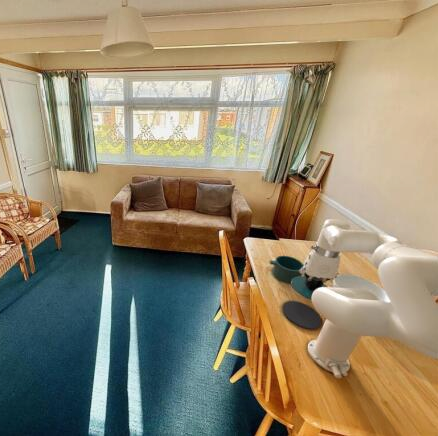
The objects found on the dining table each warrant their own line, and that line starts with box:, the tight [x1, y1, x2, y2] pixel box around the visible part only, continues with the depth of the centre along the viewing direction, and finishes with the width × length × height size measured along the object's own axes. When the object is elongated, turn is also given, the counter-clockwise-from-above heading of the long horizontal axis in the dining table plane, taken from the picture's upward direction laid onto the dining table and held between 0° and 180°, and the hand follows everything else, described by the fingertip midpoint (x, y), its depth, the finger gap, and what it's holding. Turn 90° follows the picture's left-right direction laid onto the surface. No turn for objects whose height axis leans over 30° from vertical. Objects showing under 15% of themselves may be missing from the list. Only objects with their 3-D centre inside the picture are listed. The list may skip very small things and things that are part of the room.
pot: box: [269, 255, 304, 285], centre depth 125 cm, size 14×19×8 cm
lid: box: [290, 275, 329, 301], centre depth 95 cm, size 15×15×6 cm
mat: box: [281, 300, 323, 330], centre depth 102 cm, size 15×15×1 cm
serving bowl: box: [332, 273, 391, 303], centre depth 109 cm, size 21×21×7 cm
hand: (312, 286), depth 95 cm, fingers closed on lid, 3 cm apart
